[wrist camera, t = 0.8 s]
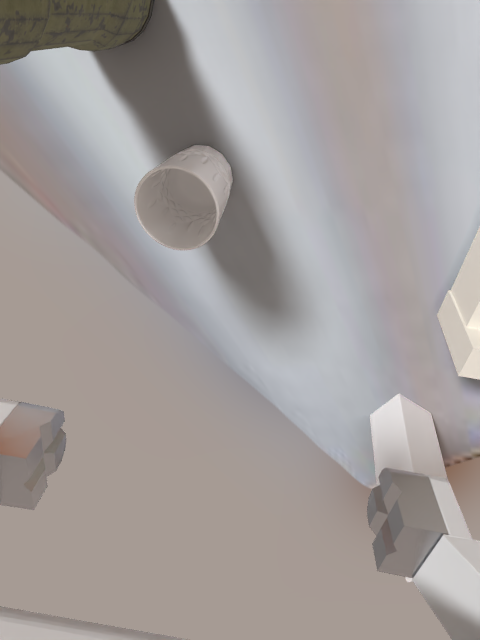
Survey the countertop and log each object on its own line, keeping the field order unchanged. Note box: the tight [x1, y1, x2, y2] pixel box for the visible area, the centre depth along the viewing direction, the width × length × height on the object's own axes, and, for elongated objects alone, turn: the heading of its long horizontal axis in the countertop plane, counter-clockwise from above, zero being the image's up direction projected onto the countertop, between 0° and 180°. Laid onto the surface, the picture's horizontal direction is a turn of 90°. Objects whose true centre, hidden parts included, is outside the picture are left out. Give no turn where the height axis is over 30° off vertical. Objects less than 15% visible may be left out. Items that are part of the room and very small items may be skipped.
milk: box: [370, 394, 448, 582], centre depth 53 cm, size 6×6×22 cm
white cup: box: [134, 145, 233, 250], centre depth 43 cm, size 8×8×10 cm
